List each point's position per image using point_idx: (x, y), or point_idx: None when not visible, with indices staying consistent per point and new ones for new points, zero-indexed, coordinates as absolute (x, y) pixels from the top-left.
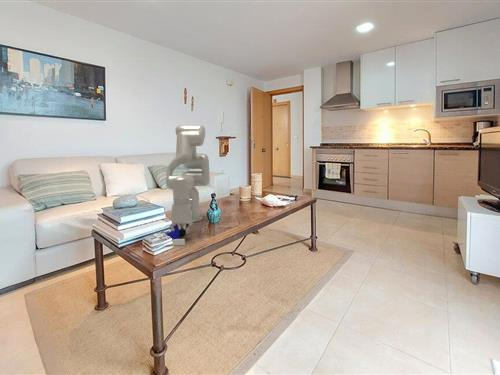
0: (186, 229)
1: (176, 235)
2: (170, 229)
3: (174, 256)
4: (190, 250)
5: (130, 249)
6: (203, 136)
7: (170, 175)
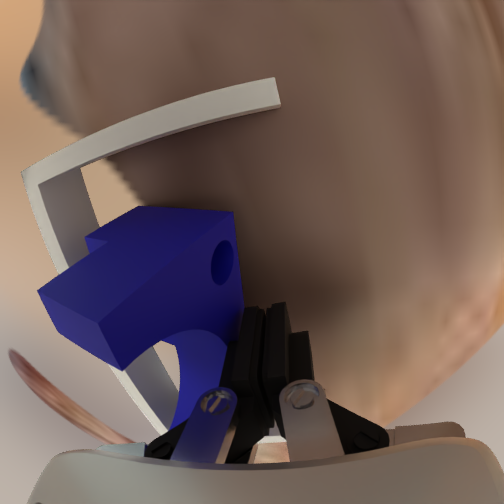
0: (244, 112)
1: None
2: (27, 183)
3: None
4: None
5: (51, 402)
6: None
7: None
